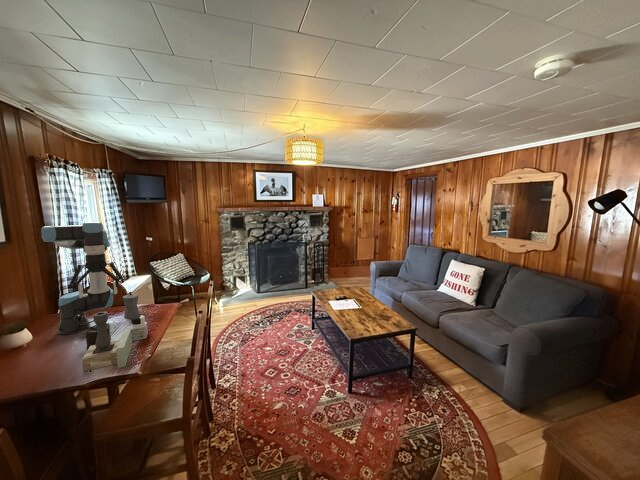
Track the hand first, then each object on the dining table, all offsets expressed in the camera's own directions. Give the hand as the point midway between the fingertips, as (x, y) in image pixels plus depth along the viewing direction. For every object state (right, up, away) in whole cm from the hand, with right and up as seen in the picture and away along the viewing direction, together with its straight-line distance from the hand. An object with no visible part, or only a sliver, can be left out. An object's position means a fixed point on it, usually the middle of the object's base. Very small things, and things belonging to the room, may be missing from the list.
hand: (99, 295), depth 133 cm
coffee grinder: (-19, -32, +19) cm, 42 cm away
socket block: (0, -34, +4) cm, 35 cm away
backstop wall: (+7, -34, +8) cm, 36 cm away
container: (+1, -32, +29) cm, 42 cm away
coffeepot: (-26, -27, +59) cm, 70 cm away
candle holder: (-1, -35, +4) cm, 35 cm away
